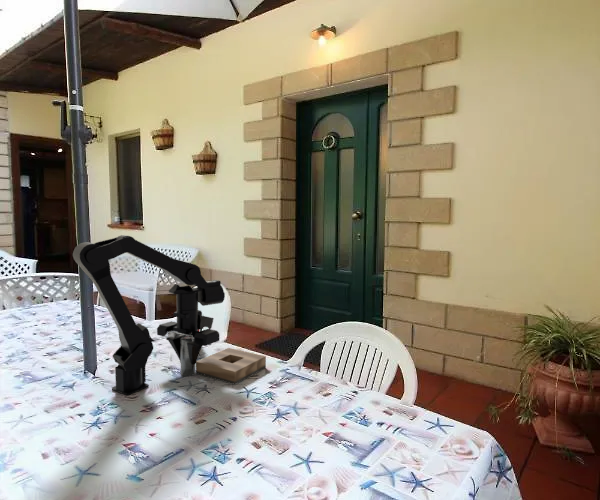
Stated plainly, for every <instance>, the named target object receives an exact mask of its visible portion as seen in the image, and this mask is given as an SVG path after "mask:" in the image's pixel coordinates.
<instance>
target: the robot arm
mask: <svg viewBox="0 0 600 500" xmlns="http://www.w3.org/2000/svg"><path fill="white" fill-rule="evenodd" d="M125 253H126V254H129V255H131V256H132V257H135V258H137V259H139V260H142V261H144V262H146V263H148V264H150V265H152V266H154V267H156V268H158V269H160V270H162V271H164V273H166V274H167V276H169V277H170V278H172V279H174V280H175V281H176V282H179V283H181V284H185V285H183V286H180V285H179V284H176V283H175V284H174V285H173V286H172V287H170V289H168V293H170V294H172V295H176V311H174V312H173V315H172V316H173V317H176V321H168V322H163V323H161V324H159V325H158V326H157V328H156V334H157V336H161V337H165V336H166V335H168V337H165V338H166V341H168V342H169V344H170V346H171V347H172V349H173V350H174V352H175V354H176V356H177V358H178V359H179V361H180V362H181V357H180V339H181V338H182V337H193V339H192V341H191V342H189V343H187V347H188V351H189V356H190V360H191V364H192V365H194V364H195V365H196V361H198V358H199V355H200V352H201V350H202V348H203V346H209V345H211V344H214V343H216V342H220V332H219V331H218V330H215V329H212V327H213V323H214V318H213V317H210V316H206V315H205V316H204V315H203V312H202V310H199V304H200V305H201V306H203V307H204V306H211V305H216V304H222V303H223V302H224V300H225V295H226V293H225V291H224V287H223V286H222V283H221V280H217V279H216V280H215V279H214V280H210V281H206V280H205V278H204V276H203V275H202V271H201V267H199V266H198V265H197V264H194V263H191V262H187V261H184V260H180V259H176V258H172V257H171V256H169V255H167V254H164V253H163V252H160V251H159V250H156V249H155V248H153V247H151V246H149V245H147V244H145V243H142V242H141V241H138V239H135V238H134V237H132V236H130V235H125V234H124V235H122V234H121V235H118V236H117V237H112V238H108V239H104V240H100V241H98V242H93V243H92V242H87V241H86V242H85V241H84V242H81V243H79V244H77V245H76V246H75V247H74V250H73V252H72V258H73V260H74V261H75V263H76V264H77V265H78V266H79V267H80V269H81V270H82V271H83V272H84V273H85V275H86V276H87V277H88V278H89V279H90V280H91V281H92V283H93V284H94V286H95V287H96V290H97V292H98V294H99V296H100V298H101V299H102V301H103V303H104V305H105V307H106V308H107V309H106V310H107V311H108V313H109V314H110V316H111V317H112V320H113V323H114V324H115V325H116V327H117V331H118V339H119V342H120V345H119V348H118V349H117V350H116V351H115V352H114V353H113V354H112V358H113V360H114V362H115V363H117V364H118V365H117V366H115V368H114V369H115V371H114V372H115V373H114V374H115V386H112V387H111V390H112V391H114V392H117V393H121V394H123V395H125V396H130V395H132V394H135V393H137V392H139V391H141V390H144V389H146V388H149V383H146V382H147V381H146V380H147V378H146V375H147V374H146V365H147V363H148V360H149V357H150V356H151V355H152V353H153V350H154V345H153V342H155V340H154V339H153V338H152V336H151V334H150V332H149V328H148V327H146V326H144V324H141V323H137V324H136V322H135V319H134V318H133V316H132V314H131V312H130V309H129V308H128V306H127V304H126V302H125V300H124V299H123V296H122V294H121V292H120V290H119V289H118V286H117V284H116V283H115V280H114V278H113V277H112V273H111V272H112V271H111V264H110V260H112V259H116V258H117V257H119V256H121V255H123V254H125ZM192 286H194V287H192ZM204 328H206V329H204ZM198 330H199V331H198ZM191 333H192V334H191Z"/></svg>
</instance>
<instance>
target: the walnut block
mask: <svg viewBox="0 0 600 500" xmlns="http://www.w3.org/2000/svg"><path fill="white" fill-rule="evenodd" d="M266 358H267V356H266V355H264V354H263V355H262V354H257V353H254V352H250V351H249V352H248V351H244V350H239V349H236V348H231V347H227V348H224V349H222V350H220V351H217V352H215V353H212V354H211V355H208V356H206V357H203V358H202V359H197V361H196V364H195V374H196V375H200V376H203V377H207V378H209V379H214V380H217V381H221V382H225V383H228V384H230V385H237V384H239V383H241V382H242V381H244V380H246V379H249V378H250V377H251V376H254V375H256V374H257V373H259V372H260V371H262V370H265V369H266V367H267V364H266V363H267V360H266Z"/></svg>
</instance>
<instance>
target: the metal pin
mask: <svg viewBox="0 0 600 500" xmlns="http://www.w3.org/2000/svg"><path fill="white" fill-rule="evenodd" d="M192 339H193V337H182V338H181V339H180V357H181V361H180V375H181V376H183V377H191V376H194V375H195V374H196V364H194V365H192V364H191V360H190V356H189V351H188V347H187V343H189V342H191V341H192Z"/></svg>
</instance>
